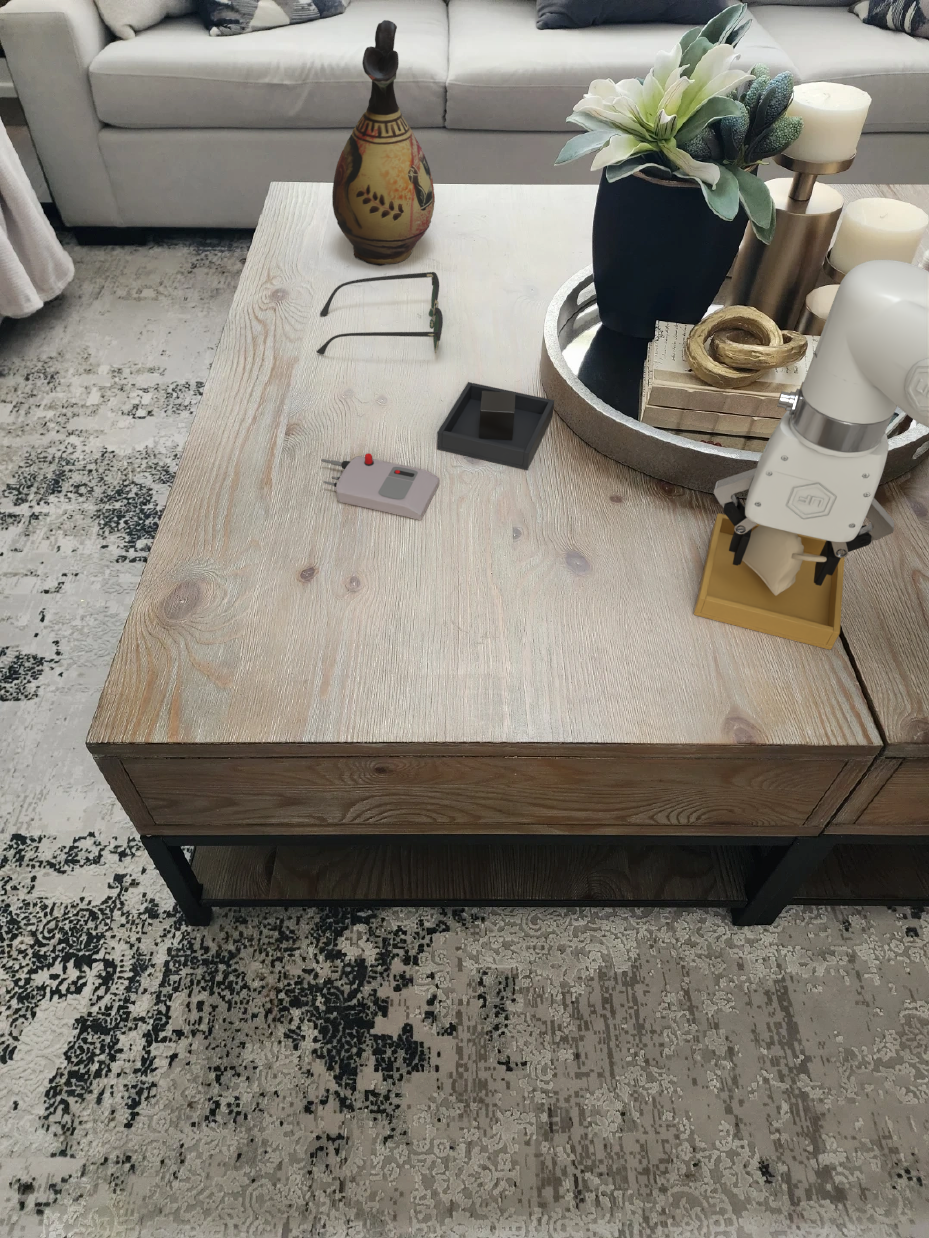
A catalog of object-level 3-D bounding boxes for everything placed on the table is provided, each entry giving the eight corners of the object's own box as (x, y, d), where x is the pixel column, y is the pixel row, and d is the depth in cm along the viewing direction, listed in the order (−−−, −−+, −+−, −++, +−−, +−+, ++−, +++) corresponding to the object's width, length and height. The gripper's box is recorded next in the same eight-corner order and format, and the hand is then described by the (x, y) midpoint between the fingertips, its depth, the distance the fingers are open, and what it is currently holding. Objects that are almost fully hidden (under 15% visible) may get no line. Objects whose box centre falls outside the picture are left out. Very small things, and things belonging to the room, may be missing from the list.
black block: (513, 420, 104) (515, 392, 101) (512, 440, 101) (514, 412, 98) (480, 418, 104) (482, 390, 101) (479, 438, 101) (480, 410, 98)
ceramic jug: (433, 276, 129) (432, 46, 107) (331, 273, 129) (309, 43, 106) (436, 227, 140) (436, 10, 118) (343, 224, 140) (325, 6, 118)
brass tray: (837, 559, 90) (845, 542, 88) (830, 650, 81) (840, 633, 79) (712, 530, 92) (717, 512, 90) (693, 614, 84) (699, 597, 82)
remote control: (436, 524, 92) (436, 503, 90) (303, 495, 95) (300, 473, 92) (455, 487, 96) (455, 466, 94) (327, 459, 99) (324, 438, 97)
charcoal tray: (552, 417, 105) (554, 400, 104) (527, 470, 98) (529, 453, 97) (467, 398, 108) (468, 381, 106) (437, 449, 101) (437, 432, 99)
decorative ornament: (761, 540, 88) (777, 501, 84) (816, 593, 83) (835, 554, 79) (730, 552, 87) (744, 512, 83) (783, 606, 82) (801, 567, 78)
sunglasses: (321, 305, 123) (317, 271, 119) (438, 303, 124) (438, 270, 120) (315, 367, 112) (311, 333, 108) (443, 365, 113) (443, 331, 109)
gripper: (730, 419, 71) (684, 569, 84) (951, 465, 67) (867, 614, 80) (740, 372, 75) (695, 522, 89) (948, 413, 72) (868, 562, 85)
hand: (777, 565), depth 84 cm, fingers closed on decorative ornament, 7 cm apart
